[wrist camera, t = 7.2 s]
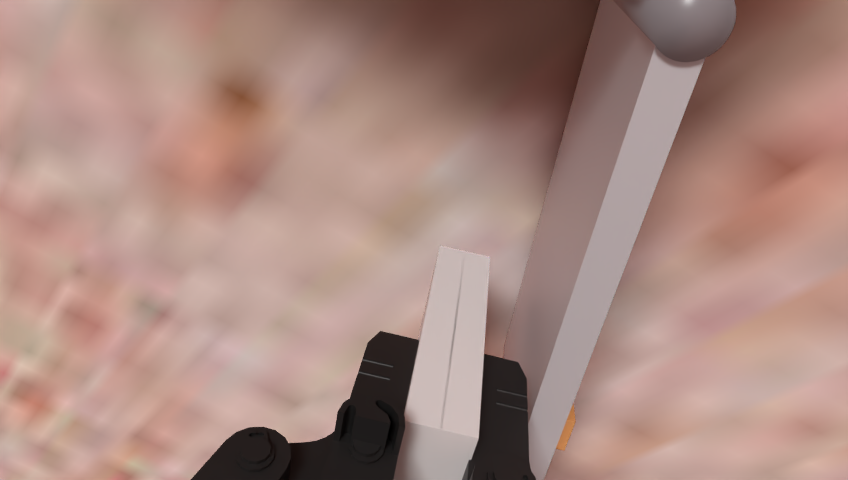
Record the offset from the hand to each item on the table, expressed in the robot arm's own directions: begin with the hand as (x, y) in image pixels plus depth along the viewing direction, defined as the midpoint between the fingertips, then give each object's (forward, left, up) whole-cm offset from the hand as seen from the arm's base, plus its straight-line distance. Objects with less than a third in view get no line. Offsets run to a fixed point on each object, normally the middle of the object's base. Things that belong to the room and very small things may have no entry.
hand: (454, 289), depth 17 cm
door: (+2, +4, -2) cm, 5 cm away
